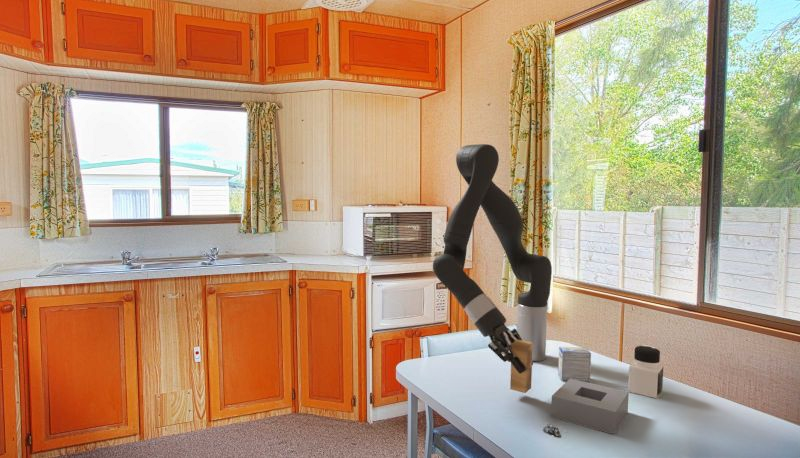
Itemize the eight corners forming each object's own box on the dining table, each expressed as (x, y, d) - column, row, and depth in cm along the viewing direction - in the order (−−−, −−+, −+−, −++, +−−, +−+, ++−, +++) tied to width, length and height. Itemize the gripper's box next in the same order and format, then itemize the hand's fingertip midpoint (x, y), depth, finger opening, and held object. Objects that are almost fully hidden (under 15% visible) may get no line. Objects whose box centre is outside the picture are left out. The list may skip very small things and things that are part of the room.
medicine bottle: (657, 399, 126) (659, 353, 125) (627, 392, 130) (629, 348, 129) (662, 390, 131) (664, 347, 131) (633, 384, 136) (635, 341, 135)
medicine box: (585, 376, 141) (586, 347, 140) (590, 382, 136) (591, 352, 136) (557, 375, 142) (558, 346, 141) (561, 381, 137) (562, 351, 137)
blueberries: (556, 425, 112) (556, 417, 112) (579, 439, 104) (579, 430, 104) (530, 429, 110) (530, 421, 110) (552, 443, 102) (552, 434, 102)
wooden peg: (516, 384, 128) (517, 339, 127) (531, 388, 126) (532, 342, 125) (510, 389, 125) (511, 343, 124) (525, 393, 123) (526, 346, 122)
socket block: (569, 397, 126) (570, 378, 126) (627, 412, 118) (628, 391, 117) (550, 416, 115) (551, 395, 114) (614, 434, 106) (615, 412, 106)
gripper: (481, 311, 123) (526, 369, 117) (505, 301, 134) (547, 353, 128) (462, 328, 126) (505, 385, 120) (487, 317, 138) (527, 368, 132)
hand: (526, 368), depth 124 cm, fingers closed on wooden peg, 4 cm apart
